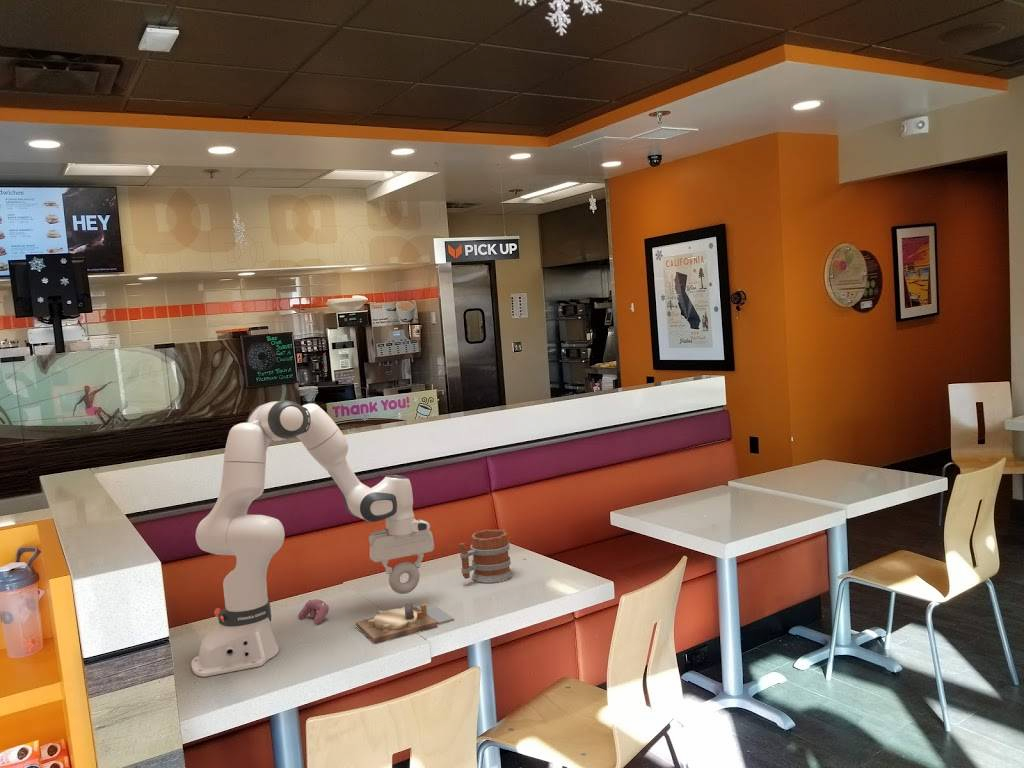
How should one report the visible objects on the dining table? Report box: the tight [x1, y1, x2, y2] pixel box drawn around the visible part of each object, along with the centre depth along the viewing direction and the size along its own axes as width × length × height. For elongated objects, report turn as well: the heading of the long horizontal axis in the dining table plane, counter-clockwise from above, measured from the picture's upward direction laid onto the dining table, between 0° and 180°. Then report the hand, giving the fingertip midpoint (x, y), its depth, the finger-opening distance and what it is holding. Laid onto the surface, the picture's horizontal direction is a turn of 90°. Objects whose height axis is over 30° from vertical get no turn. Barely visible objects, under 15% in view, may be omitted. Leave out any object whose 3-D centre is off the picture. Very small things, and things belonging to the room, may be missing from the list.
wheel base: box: [355, 603, 439, 644], centre depth 233 cm, size 19×16×4 cm
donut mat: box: [426, 606, 455, 625], centre depth 240 cm, size 5×13×1 cm, turn 29°
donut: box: [388, 561, 421, 595], centre depth 250 cm, size 10×4×10 cm, turn 119°
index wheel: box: [368, 602, 423, 632], centre depth 233 cm, size 15×15×6 cm
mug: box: [459, 529, 513, 584], centre depth 271 cm, size 14×19×15 cm
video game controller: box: [297, 598, 330, 625], centre depth 245 cm, size 10×5×7 cm, turn 48°
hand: (403, 570), depth 250 cm, fingers closed on donut, 8 cm apart
